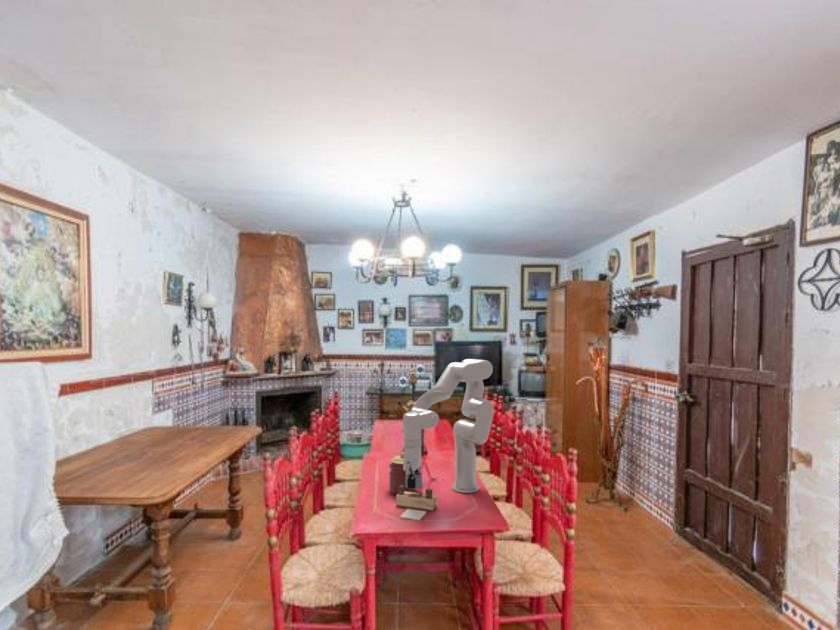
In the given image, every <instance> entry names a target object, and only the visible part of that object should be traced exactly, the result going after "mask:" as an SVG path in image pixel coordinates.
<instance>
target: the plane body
mask: <svg viewBox="0 0 840 630" xmlns="http://www.w3.org/2000/svg"><path fill="white" fill-rule="evenodd" d="M395 496H396V497H395V498H396V507H401V508H404V509H405V508H407V509H413V510H420V511H426V512H434V510H435V509H436V508H437V507H438V496H437V495H434V494H433V489H432V488H426V489H425V493H423V491H420V492H419V493H418V492H416V493H413V492H405V491H404V486H402V485H400V486H399V487H398V494H397V495H395Z"/></svg>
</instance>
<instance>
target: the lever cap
mask: <svg viewBox="0 0 840 630" xmlns="http://www.w3.org/2000/svg"><path fill="white" fill-rule="evenodd" d="M410 474H412V472H410ZM422 474H423V473H422V472H420V473H418V472H414V478H415V488H414V489H417V490H419V489H420V487H421V486H422V485H423V478H422V477H423V476H422ZM405 485H406V488H408V486H407V475H405Z"/></svg>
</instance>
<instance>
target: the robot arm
mask: <svg viewBox="0 0 840 630" xmlns="http://www.w3.org/2000/svg"><path fill="white" fill-rule="evenodd" d="M493 368H494V367H493V364H492V363H491V362H490V361H489V360H486V359H478V358H465V359H463V360H462V361H461V362H460V361H459V362H458V361H454V362H450V363H449V364H448V365H447V366H446V367H445V369H444V371H443V372H442V374H441V375H440V377H439V378H438V380H437V382H436V383H435V385H433V387H432V388H430V389H429V390H428V391H426V392H424V393H423V394H422V395H420V397H418V399H417V400H416V401H415V403H414V404H413V406H412V408H411V410H410V411H409V412H405V413H404V414H403V415H402V427H403V447H404V449H403V452H404V458H403V470H404V471H406V475H407V486H408V488H415V478H414V472H418V473H421V469H420V468H421V466H422V448H421V447H422V430H423V429H434V428H436V426H438V424H439V422H440V417H439V415H438V413H437V412H436V411H434V410H431V409H429V408H430V407H431V406H433V405H434V404H438V403H440V402H442V401H445V400H448V399H450V398H451V397H452V395H453V393H454V392H455V389H456V388H457V386H458V385H460V382H462V383H465V385H466V386H465V387H466V388H465V392H464V397H463V400H462V405H461V413H462V414H463V416H465V417H467V418H471V419H475V421H474V420H468V419H465V418H463V419H459V420H457V421H456V422H455V423H454V424H453V426H452V427H453V428H452V432H453V433H452V434H453V438H454V439H453V441H454V445H455V449H454V451H455V456H454V457H455V458H454V461H455V462H454V463H455V466H454V469H455V471H454V472H455V476H454V477H455V480H454V483H452V485H451V488H452V490H453V491H455V492H457V493H460V494H461V493H462V494H472V493H476V492H478V491H479V490H480V485H479V484H478V483H477V450H476V445H483V444H486V442H487V440H488V438H489V435H490V433H491V432H490V431H491V427H492V423H493V418H494V413H495V412H494V411H495V409H494V405H493V403H492V402H491V401H490V400H488V399H486V398H484V392H485V385H484V381H483V380H486V379H489V378H490V376H491V375H492V374H493V371H494V369H493ZM410 469H412V471H410ZM410 472H412V474H410Z"/></svg>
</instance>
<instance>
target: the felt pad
mask: <svg viewBox="0 0 840 630" xmlns="http://www.w3.org/2000/svg"><path fill="white" fill-rule="evenodd" d="M426 514H427V511H426V510H419V509H412V508H407V509H406V510H405V511H403V513H402V514H401V515H400V516H399V517H400V519H405V520H407V519H408V520H412V521H419V522H420V521H421V520H422V519H423V517H424V516H425V515H426Z"/></svg>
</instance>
